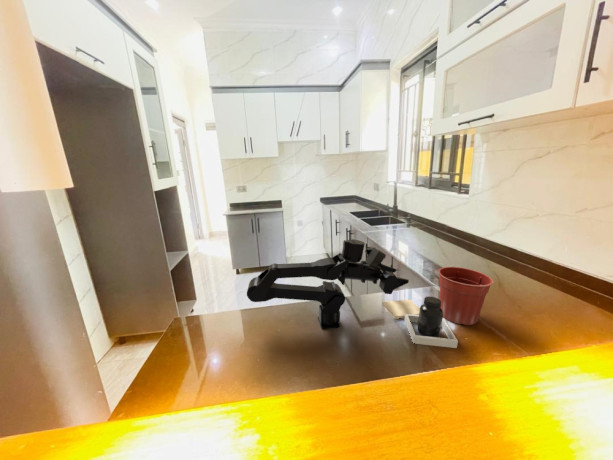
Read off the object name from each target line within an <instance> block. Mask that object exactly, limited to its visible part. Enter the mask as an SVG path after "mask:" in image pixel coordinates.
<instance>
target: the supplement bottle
mask: <svg viewBox="0 0 613 460" xmlns="http://www.w3.org/2000/svg"><path fill="white" fill-rule="evenodd" d="M419 308H420V311H419V319H418V322H417V327H416V328H417V329H416V330H417V332H418V334H420V336H428V337H437V338H440V336H441V333H442V332H441V331H442V319H443V318H444V317H443V311H442V309H441V301H440V298H438V297H435V296H430V295H429V296H425V297H424V299H423V304H421V305H420V306H419Z"/></svg>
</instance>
